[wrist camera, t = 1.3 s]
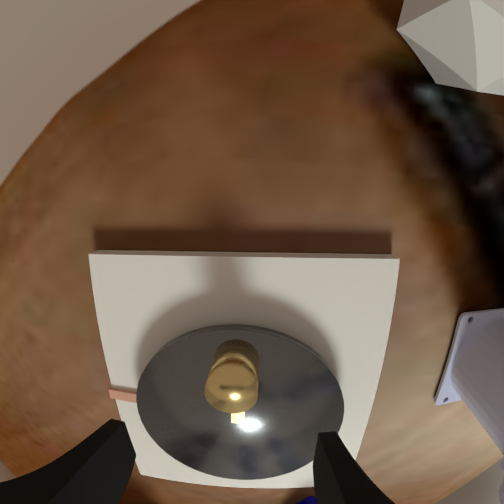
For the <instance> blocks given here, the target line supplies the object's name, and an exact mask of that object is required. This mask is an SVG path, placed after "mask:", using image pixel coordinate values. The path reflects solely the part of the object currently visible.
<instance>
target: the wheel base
mask: <svg viewBox="0 0 504 504" xmlns="http://www.w3.org/2000/svg"><path fill="white" fill-rule="evenodd" d="M89 262H90V271H91V279H92V287H93V294H94V301H95V307H96V313H97V319H98V325H99V330H100V335H101V340H102V345H103V350H104V355H105V359H106V364H107V368H108V372H109V376H110V380H111V384H112V388H111V387H110V388H109V389H108V390H109V394H110V397H111V398H112V399H116V403H117V406H118V410H119V413H120V416H121V420H122V421H124V422H125V424H126V427H127V430H128V433H129V436H130V439H131V442H132V444H133V447H134V450H135V453H136V459H135V461H136V464H137V466H138V469H139V471H140V474H141V475H146V476H151V477H156V478H161V479H167V480H173V481H180V482H187V483H195V484H203V485H213V486H225V487H242V488H301V487H314V479H313V461H312V462H310V463H309V464H307V465H305V466H303V467H301V468H299V469H297V470H295V471H292V472H290V473H287V474H284V475H280V476H276V477H272V478H266V479H256V480H237V479H227V478H222V477H216V476H213V475H209V474H205V473H203V472H200V471H197V470H194V469H192V468H190V467H188V466H186V465H184V464H182V463H181V462H179V461H177V460H175V459H174V458H173V457H171V456H170V455H169V454H167V453H166V452H165V451H164V450H163V449H161V448H160V447H159V446H158V445H157V444H156V442H155V441H154V440H153V439H152V438H151V437H150V435H149V434H148V432H147V431H146V429H145V427H144V425H143V423H142V421H141V419H140V416H139V413H138V408H137V403H136V392H137V387H138V382H139V379H140V377H141V374H142V372H143V371H144V369H145V367H146V366H147V364H148V363H149V361H150V360H151V358H152V357H153V356H154V354H155V353H156V352H157V351H158V350H159V349H160V348H161V347H163V346H164V345H165V344H166V343H168V342H169V341H171V340H173V339H174V338H176V337H178V336H180V335H182V334H185V333H187V332H189V331H192V330H195V329H199V328H203V327H207V326H215V325H222V324H242V325H254V326H259V327H264V328H269V329H272V330H275V331H279V332H282V333H285V334H287V335H289V336H291V337H294V338H296V339H298V340H300V341H301V342H303V343H305V344H306V345H308V346H310V347H311V348H312V349H313V350H315V351H316V352H317V353H318V354H319V355H320V356H321V357H322V358H323V359H324V360H325V361H326V362H327V363H328V364H329V366H330V367H331V369H332V370H333V372H334V373H335V375H336V378H337V380H338V382H339V385H340V388H341V391H342V395H343V399H344V416H343V422H342V425H341V428H340V430H339V432H338V435H339V437H340V438H341V440H342V442H343V443H344V445H345V446H346V448H347V449H348V451H349V452H350V454H351V455H352V457H353V458H354V459H356V457H357V454H358V451H359V448H360V445H361V442H362V439H363V435H364V432H365V429H366V426H367V422H368V419H369V415H370V412H371V408H372V405H373V401H374V397H375V393H376V390H377V386H378V382H379V377H380V373H381V369H382V364H383V360H384V355H385V351H386V346H387V341H388V335H389V330H390V325H391V319H392V313H393V307H394V300H395V293H396V286H397V279H398V270H399V262H400V259H399V258H397V257H396V256H394V255H392V254H341V253H272V252H204V251H136V250H97V251H94V252H92V253H90V254H89Z"/></svg>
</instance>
